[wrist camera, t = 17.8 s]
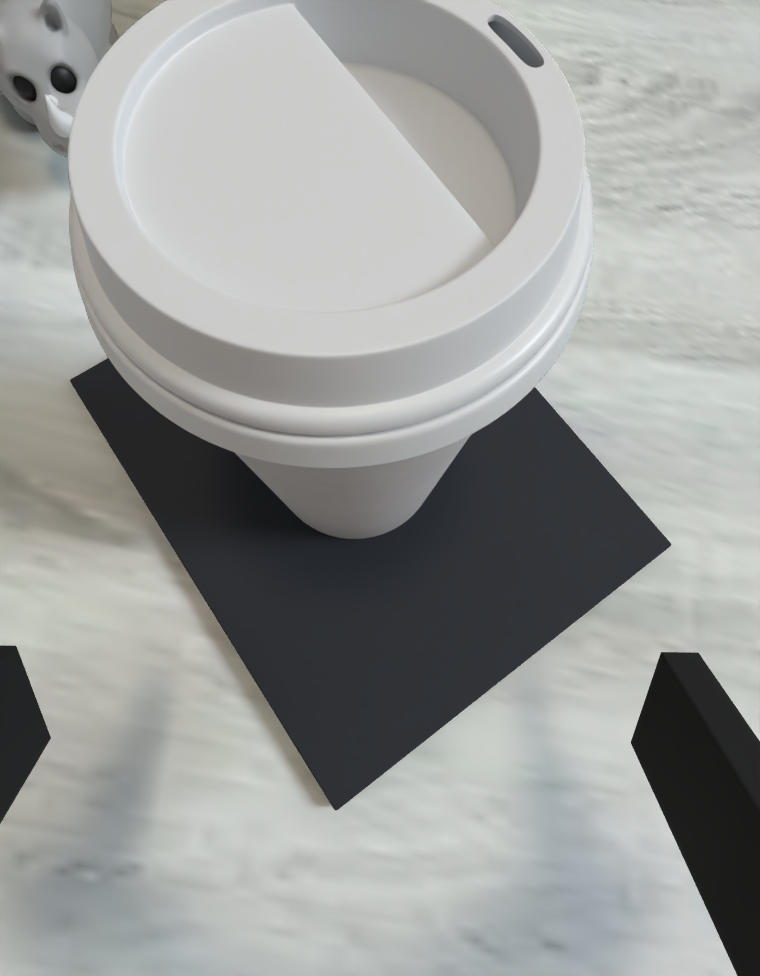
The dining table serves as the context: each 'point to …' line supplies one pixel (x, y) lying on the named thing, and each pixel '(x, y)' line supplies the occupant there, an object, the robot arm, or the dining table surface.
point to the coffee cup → (331, 234)
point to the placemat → (386, 574)
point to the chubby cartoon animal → (51, 59)
